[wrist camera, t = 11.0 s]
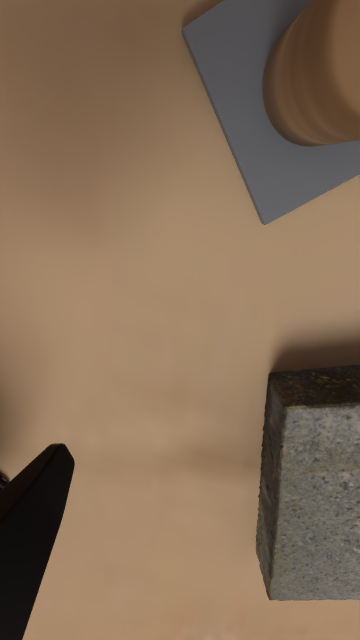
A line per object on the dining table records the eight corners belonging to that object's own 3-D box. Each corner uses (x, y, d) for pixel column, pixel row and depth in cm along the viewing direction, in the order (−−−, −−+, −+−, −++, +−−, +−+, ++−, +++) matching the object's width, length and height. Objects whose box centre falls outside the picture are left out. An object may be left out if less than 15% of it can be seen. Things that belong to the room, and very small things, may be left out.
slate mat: (261, 223, 18) (264, 225, 17) (181, 33, 14) (182, 27, 14) (432, 131, 16) (441, 130, 16) (389, -108, 13) (399, -120, 12)
